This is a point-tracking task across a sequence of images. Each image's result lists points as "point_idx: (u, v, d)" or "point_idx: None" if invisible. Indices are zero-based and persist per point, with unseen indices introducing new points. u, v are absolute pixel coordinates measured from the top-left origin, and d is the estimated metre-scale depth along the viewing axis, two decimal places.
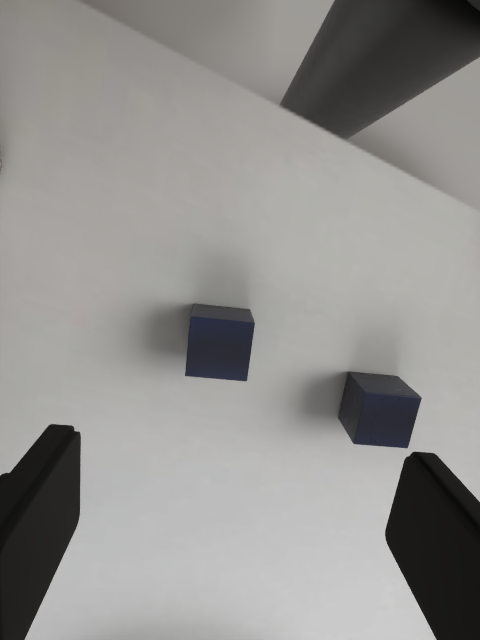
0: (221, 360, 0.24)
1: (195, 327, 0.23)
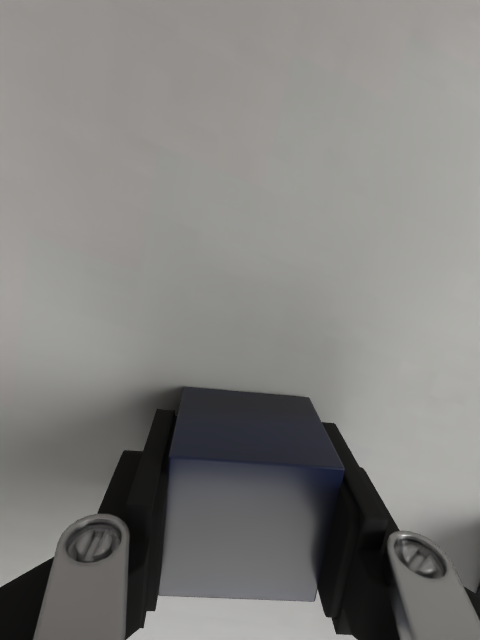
0: (252, 558, 0.09)
1: (182, 482, 0.08)
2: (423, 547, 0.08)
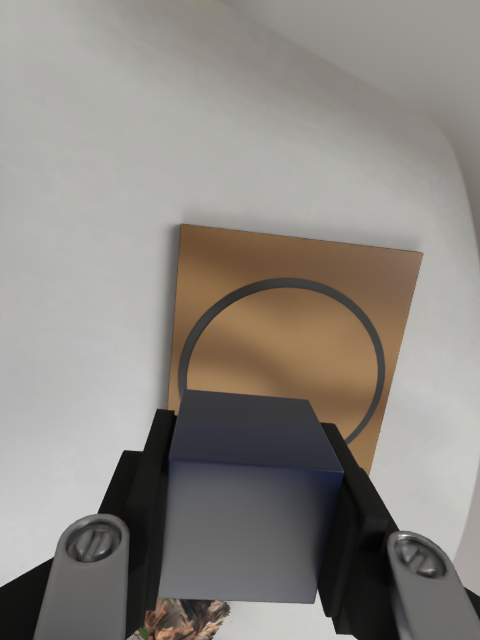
0: (252, 560, 0.09)
1: (182, 485, 0.08)
2: (423, 547, 0.08)
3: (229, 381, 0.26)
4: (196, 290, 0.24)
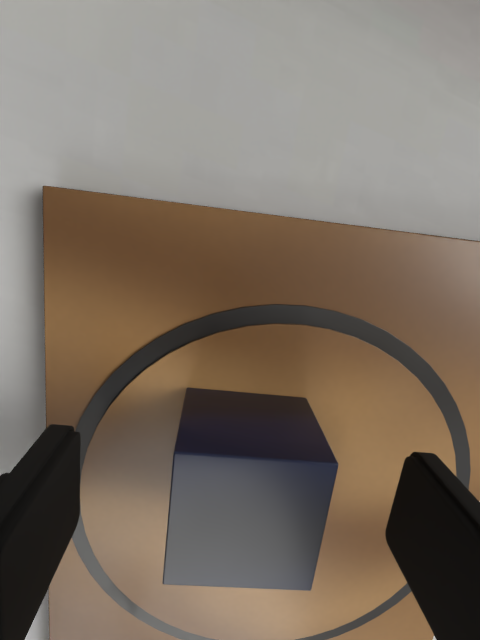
0: (252, 548, 0.09)
1: (186, 477, 0.09)
2: None
3: (165, 504, 0.13)
4: (88, 329, 0.12)
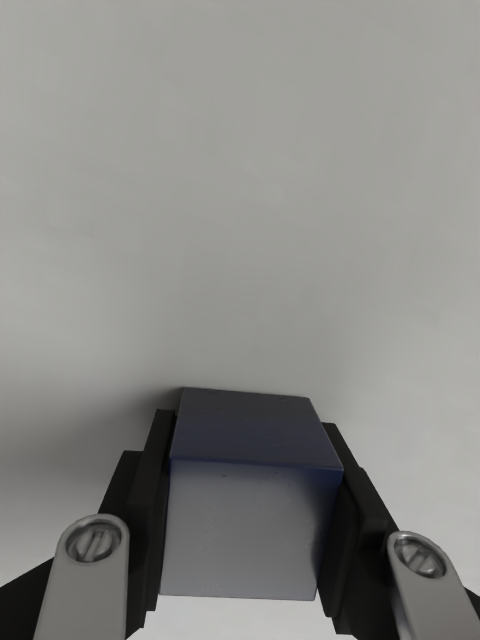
0: None
1: None
2: (423, 547, 0.08)
3: None
4: None
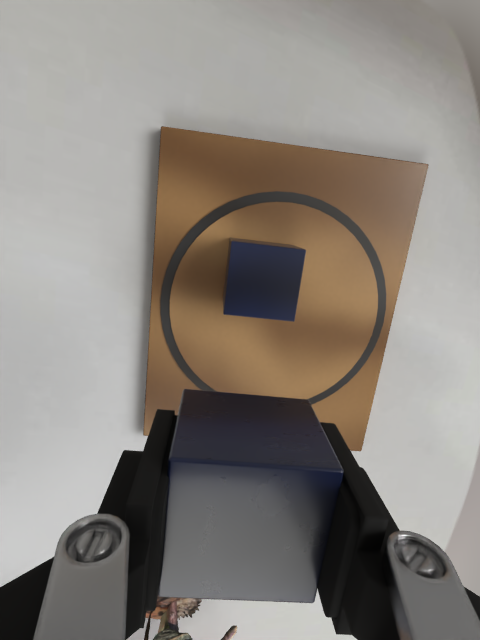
0: (266, 295, 0.20)
1: (236, 254, 0.19)
2: (423, 547, 0.08)
3: (215, 310, 0.24)
4: (179, 204, 0.22)
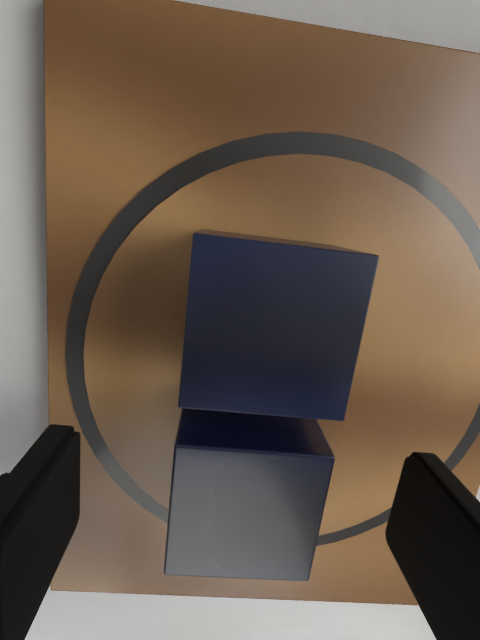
0: (279, 364, 0.08)
1: (207, 266, 0.08)
2: None
3: (176, 372, 0.12)
4: (93, 158, 0.10)
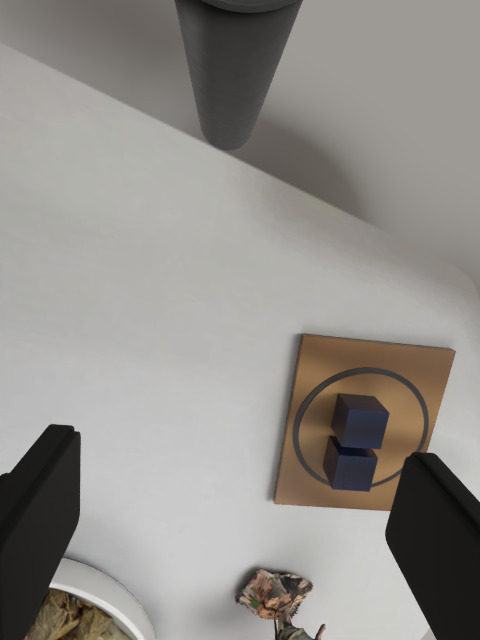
0: (366, 436, 0.36)
1: (351, 416, 0.35)
2: None
3: (325, 432, 0.39)
4: (309, 375, 0.38)
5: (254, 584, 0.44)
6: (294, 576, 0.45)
